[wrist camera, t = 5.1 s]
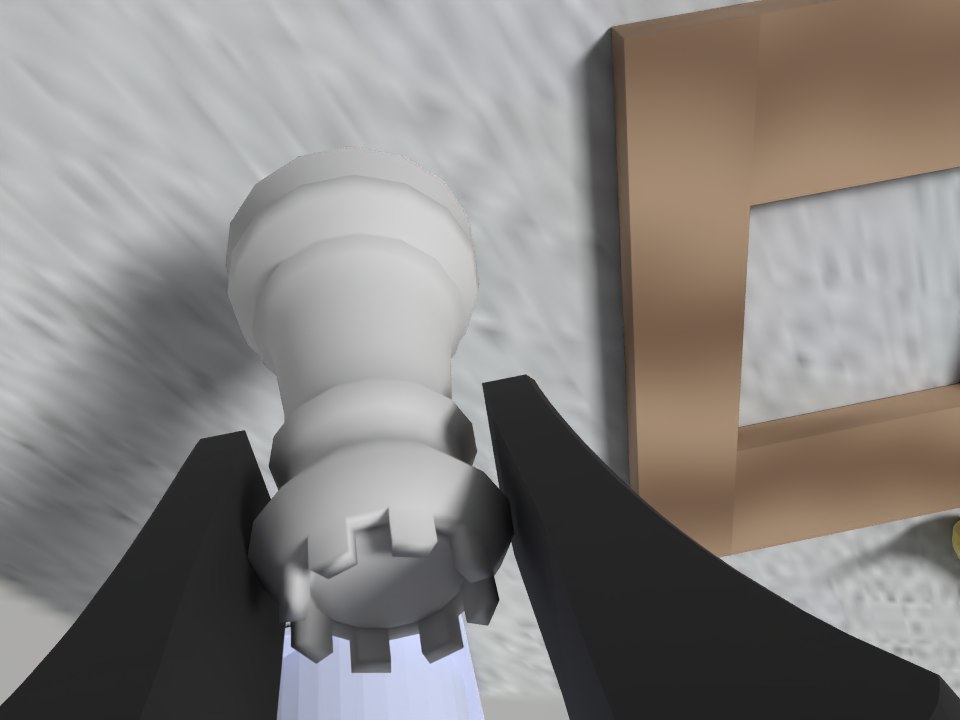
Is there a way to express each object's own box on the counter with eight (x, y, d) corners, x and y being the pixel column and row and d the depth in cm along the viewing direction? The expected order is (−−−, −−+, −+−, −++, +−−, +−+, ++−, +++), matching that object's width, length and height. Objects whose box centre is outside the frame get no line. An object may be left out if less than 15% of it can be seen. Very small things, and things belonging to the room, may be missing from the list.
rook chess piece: (413, 367, 18) (477, 730, 12) (196, 307, 16) (142, 698, 10) (511, 186, 16) (653, 519, 10) (272, 94, 14) (261, 431, 8)
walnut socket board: (1031, 468, 30) (1051, 488, 29) (632, 550, 29) (641, 573, 28) (1206, -79, 20) (1243, -72, 19) (611, 26, 19) (624, 38, 19)
